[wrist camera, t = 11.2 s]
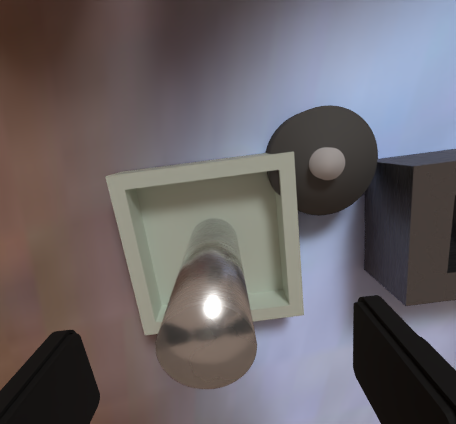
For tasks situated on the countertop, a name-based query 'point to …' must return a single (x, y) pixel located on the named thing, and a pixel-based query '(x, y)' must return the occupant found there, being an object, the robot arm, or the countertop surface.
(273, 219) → the parts tray
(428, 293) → the block
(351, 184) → the wheel
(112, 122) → the countertop surface
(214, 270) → the pin
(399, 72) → the countertop surface
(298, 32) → the countertop surface
